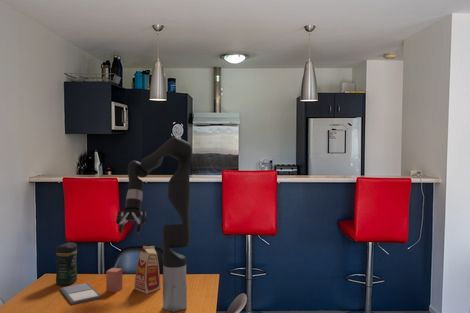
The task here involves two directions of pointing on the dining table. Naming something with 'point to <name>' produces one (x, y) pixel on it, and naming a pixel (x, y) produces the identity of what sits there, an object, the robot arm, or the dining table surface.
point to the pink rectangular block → (114, 279)
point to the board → (80, 293)
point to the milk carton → (147, 271)
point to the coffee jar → (66, 264)
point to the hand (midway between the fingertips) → (129, 233)
